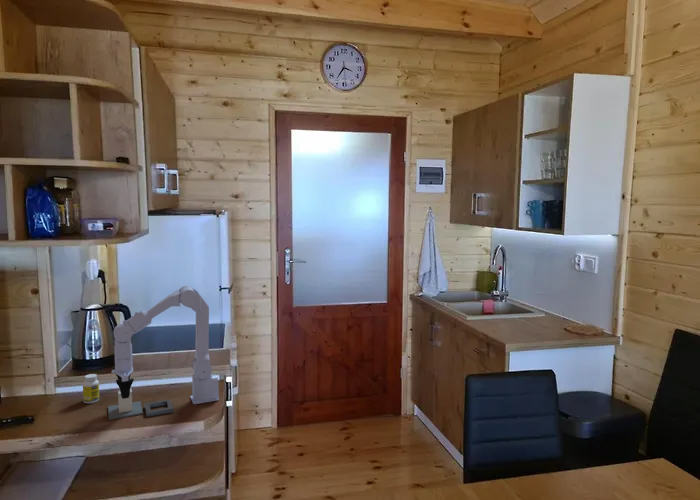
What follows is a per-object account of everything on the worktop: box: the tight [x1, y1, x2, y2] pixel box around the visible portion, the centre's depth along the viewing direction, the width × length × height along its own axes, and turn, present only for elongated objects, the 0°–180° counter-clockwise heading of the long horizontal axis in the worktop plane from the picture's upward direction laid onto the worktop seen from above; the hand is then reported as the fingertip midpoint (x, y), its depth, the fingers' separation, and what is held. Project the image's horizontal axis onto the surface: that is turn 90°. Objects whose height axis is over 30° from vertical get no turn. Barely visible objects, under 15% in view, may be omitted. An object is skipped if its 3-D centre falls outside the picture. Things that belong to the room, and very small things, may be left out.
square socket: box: [144, 398, 175, 418], centre depth 180 cm, size 9×9×2 cm
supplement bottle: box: [82, 373, 100, 404], centre depth 186 cm, size 5×5×10 cm
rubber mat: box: [107, 400, 144, 421], centre depth 179 cm, size 11×11×1 cm
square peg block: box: [117, 387, 133, 413], centre depth 178 cm, size 4×4×7 cm
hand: (124, 394), depth 178 cm, fingers open, 7 cm apart
